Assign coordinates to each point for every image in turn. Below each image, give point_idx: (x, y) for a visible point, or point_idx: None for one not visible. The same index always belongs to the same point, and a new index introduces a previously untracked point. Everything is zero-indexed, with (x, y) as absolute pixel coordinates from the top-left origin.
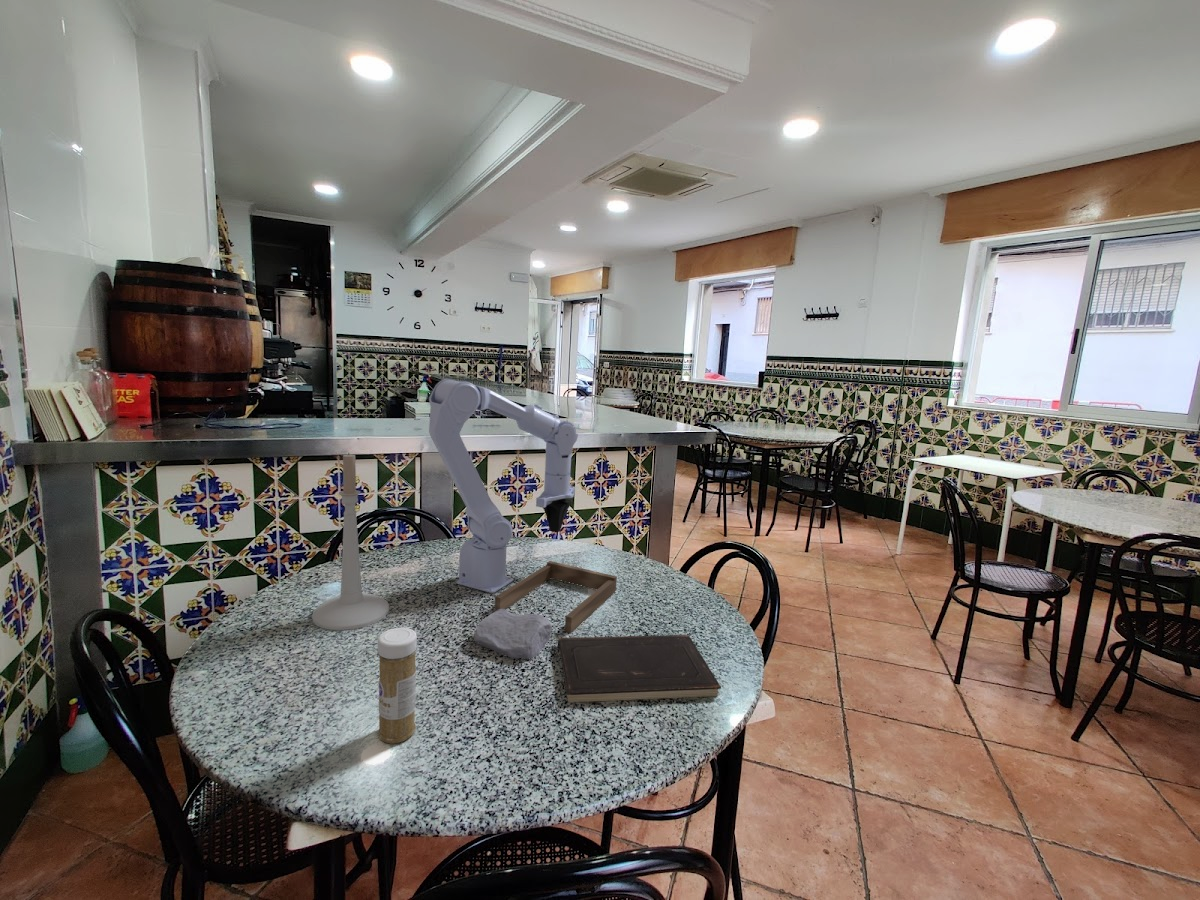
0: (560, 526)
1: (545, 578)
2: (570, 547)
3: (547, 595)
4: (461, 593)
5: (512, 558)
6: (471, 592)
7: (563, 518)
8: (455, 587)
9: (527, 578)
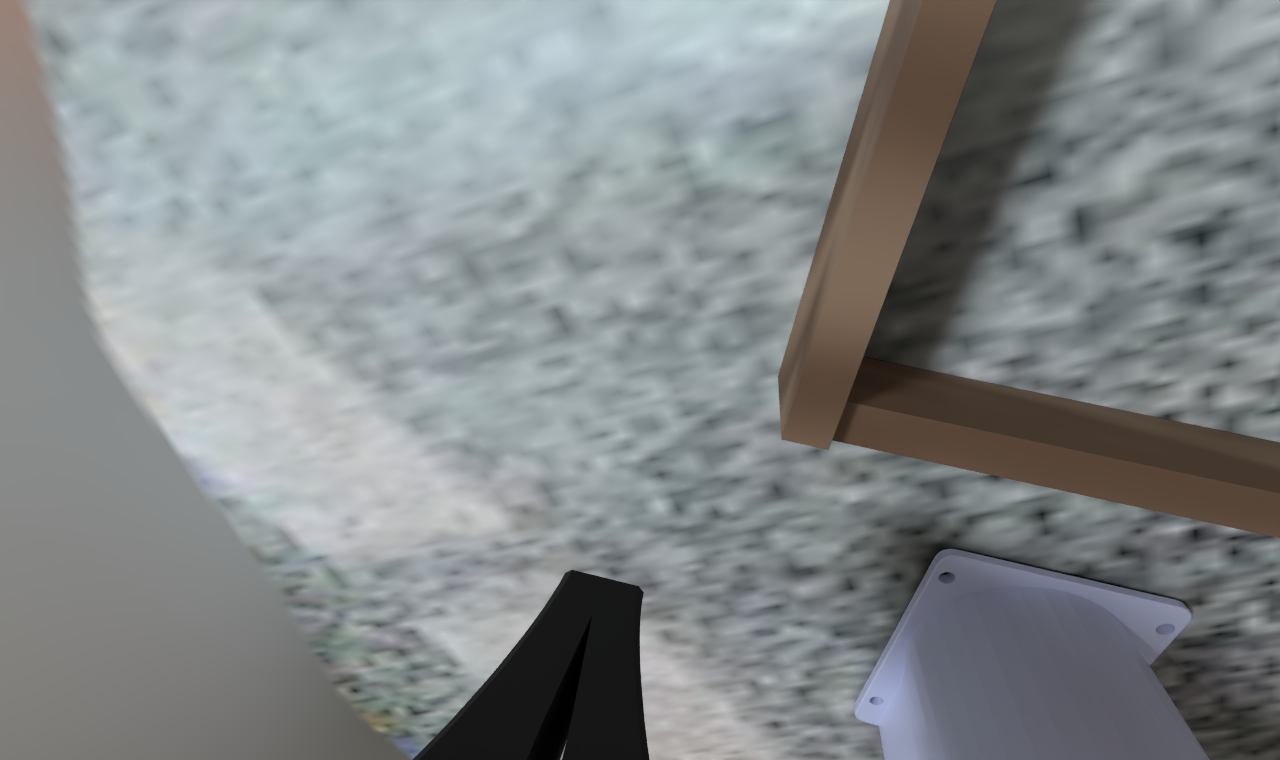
0: (581, 627)
1: (922, 381)
2: (234, 374)
3: (1183, 285)
4: None
5: None
6: None
7: (487, 715)
8: None
9: (1197, 501)
